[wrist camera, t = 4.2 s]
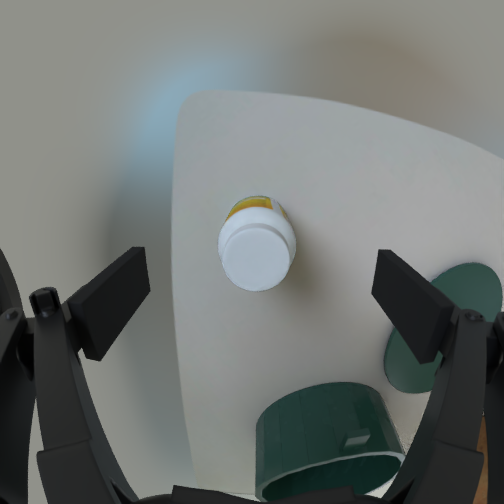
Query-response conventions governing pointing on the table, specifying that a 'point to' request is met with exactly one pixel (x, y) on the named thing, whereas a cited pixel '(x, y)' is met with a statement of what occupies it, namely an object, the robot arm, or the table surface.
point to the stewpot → (326, 442)
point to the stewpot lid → (465, 297)
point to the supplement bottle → (257, 244)
